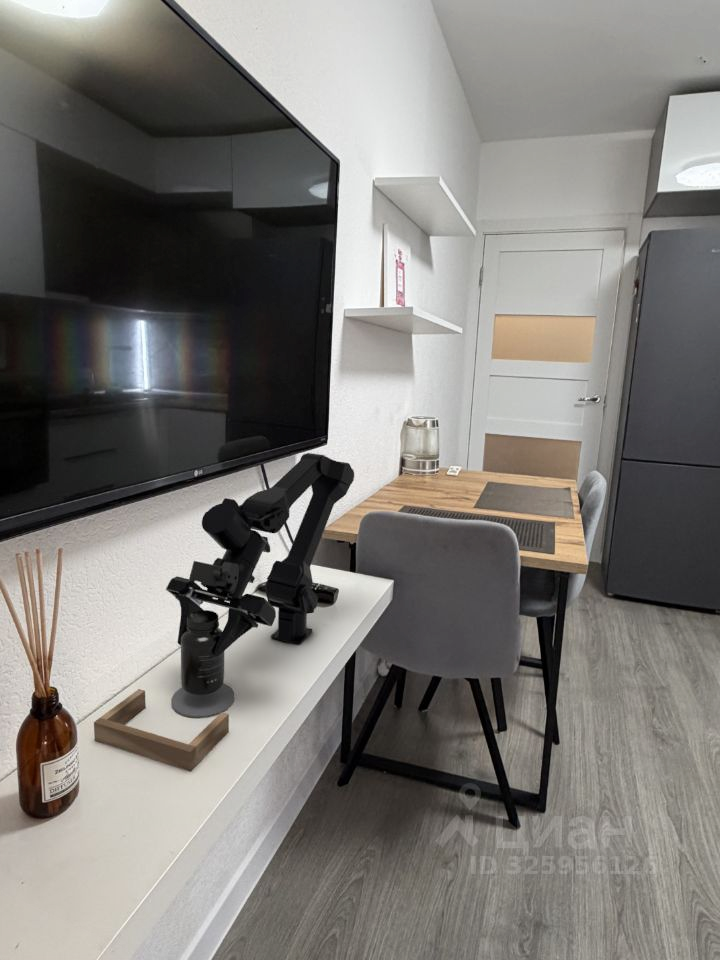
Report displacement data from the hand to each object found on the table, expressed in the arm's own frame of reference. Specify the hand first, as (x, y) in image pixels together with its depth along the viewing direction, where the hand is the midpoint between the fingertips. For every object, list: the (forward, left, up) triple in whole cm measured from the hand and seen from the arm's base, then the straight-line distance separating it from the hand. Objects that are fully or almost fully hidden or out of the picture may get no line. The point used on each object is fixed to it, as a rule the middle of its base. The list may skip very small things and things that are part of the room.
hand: (197, 649), depth 94 cm
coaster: (-1, 0, -10) cm, 10 cm away
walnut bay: (+9, 0, -10) cm, 13 cm away
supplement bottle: (-1, 0, -7) cm, 7 cm away
